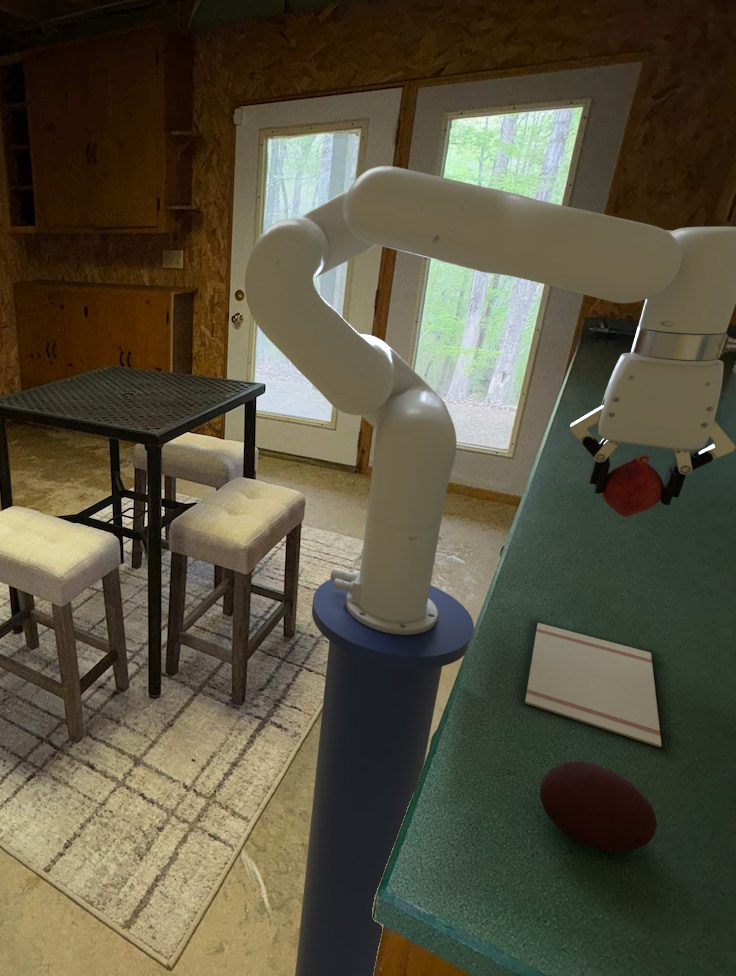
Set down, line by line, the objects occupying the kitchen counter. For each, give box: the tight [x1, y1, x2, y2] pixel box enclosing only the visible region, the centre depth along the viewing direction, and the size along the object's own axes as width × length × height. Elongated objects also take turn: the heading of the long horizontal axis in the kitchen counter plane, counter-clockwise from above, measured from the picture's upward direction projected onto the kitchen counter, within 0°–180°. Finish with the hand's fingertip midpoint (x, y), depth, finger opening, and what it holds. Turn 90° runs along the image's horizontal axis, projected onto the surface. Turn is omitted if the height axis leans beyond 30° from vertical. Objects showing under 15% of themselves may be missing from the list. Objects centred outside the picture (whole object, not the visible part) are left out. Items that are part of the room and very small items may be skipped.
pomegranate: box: [601, 454, 664, 518], centre depth 75 cm, size 6×6×8 cm
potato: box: [539, 761, 658, 853], centre depth 54 cm, size 7×8×6 cm
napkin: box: [524, 622, 663, 749], centre depth 74 cm, size 12×18×1 cm, turn 145°
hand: (630, 494), depth 76 cm, fingers closed on pomegranate, 5 cm apart
